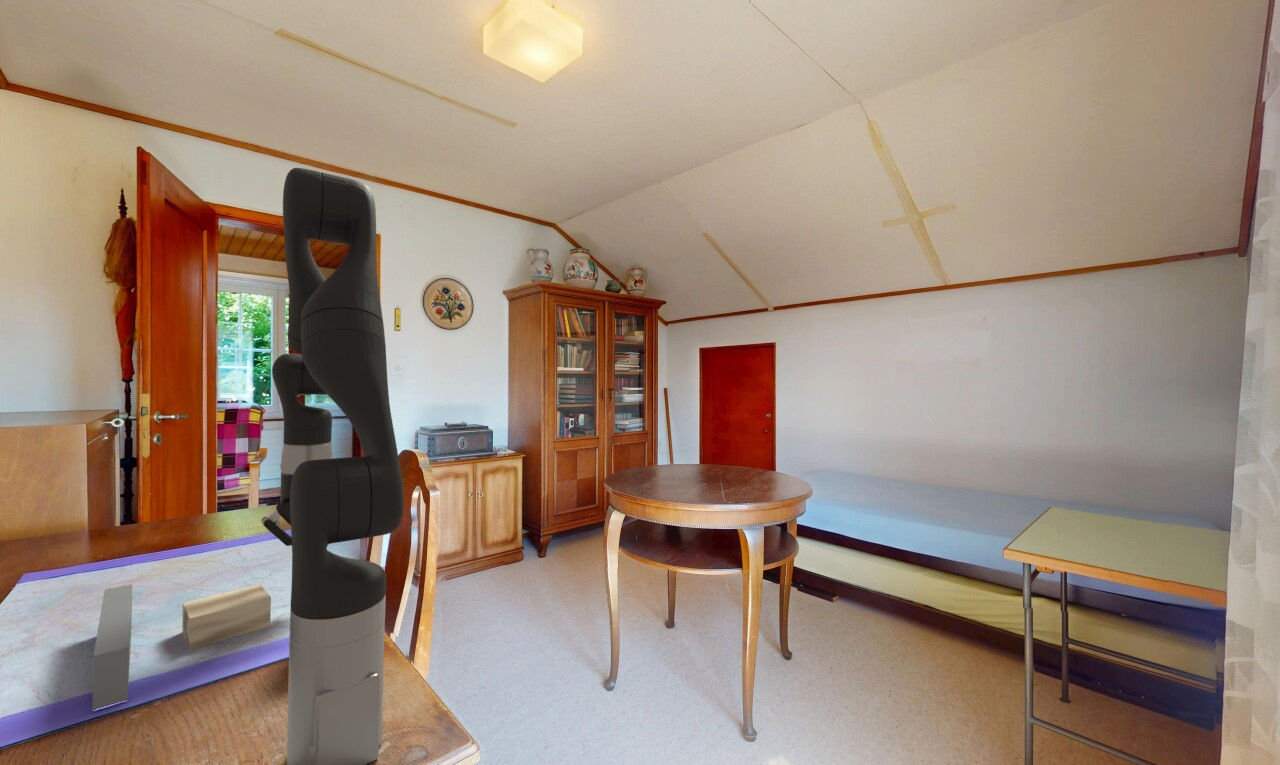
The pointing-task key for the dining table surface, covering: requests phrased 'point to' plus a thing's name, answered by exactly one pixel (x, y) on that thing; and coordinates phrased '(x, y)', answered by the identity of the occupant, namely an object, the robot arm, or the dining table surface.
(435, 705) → the dining table surface
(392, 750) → the dining table surface
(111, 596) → the grey block
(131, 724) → the dining table surface
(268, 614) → the birch block
